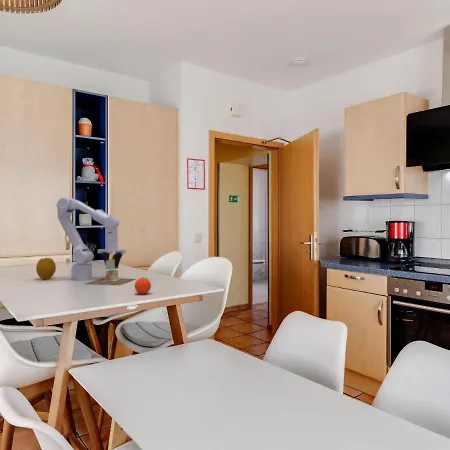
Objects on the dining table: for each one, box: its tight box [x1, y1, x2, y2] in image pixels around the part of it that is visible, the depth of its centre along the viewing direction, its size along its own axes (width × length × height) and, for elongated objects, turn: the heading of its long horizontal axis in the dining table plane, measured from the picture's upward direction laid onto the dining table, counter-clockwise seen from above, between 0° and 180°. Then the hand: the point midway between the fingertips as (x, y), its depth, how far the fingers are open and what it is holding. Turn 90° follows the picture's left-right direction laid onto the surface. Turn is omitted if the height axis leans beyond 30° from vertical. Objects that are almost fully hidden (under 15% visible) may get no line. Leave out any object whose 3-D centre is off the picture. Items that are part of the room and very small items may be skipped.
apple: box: [35, 256, 57, 280], centre depth 216 cm, size 10×10×12 cm
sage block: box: [105, 258, 119, 270], centre depth 208 cm, size 4×4×4 cm
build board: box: [84, 277, 137, 286], centre depth 202 cm, size 19×20×1 cm
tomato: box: [134, 277, 154, 295], centre depth 175 cm, size 8×7×7 cm
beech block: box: [105, 269, 119, 280], centre depth 207 cm, size 4×4×4 cm
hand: (112, 267), depth 208 cm, fingers closed on sage block, 4 cm apart
